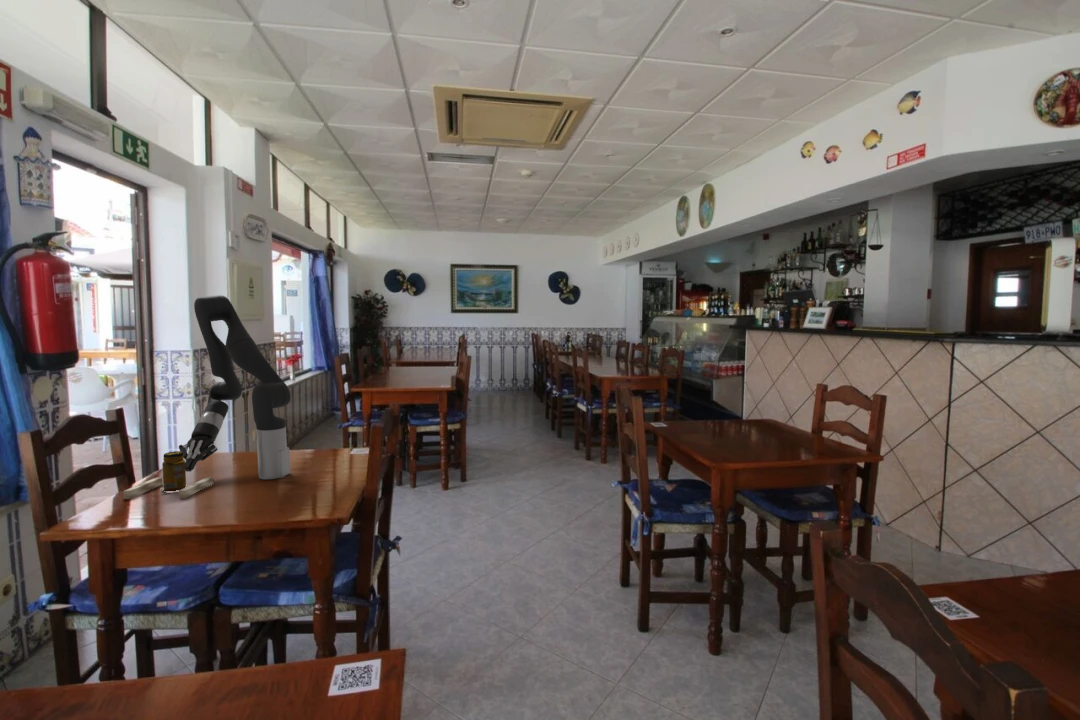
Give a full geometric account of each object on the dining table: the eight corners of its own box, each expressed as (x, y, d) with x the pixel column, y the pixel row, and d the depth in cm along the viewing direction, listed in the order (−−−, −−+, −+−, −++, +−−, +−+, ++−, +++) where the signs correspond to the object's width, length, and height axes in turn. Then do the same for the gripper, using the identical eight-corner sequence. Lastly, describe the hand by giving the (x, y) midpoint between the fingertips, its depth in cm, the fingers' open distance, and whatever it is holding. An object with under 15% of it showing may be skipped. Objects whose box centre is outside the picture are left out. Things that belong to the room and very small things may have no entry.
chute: (156, 484, 173) (156, 477, 172) (213, 484, 173) (213, 477, 173) (123, 499, 159) (123, 491, 158) (185, 498, 159) (185, 490, 159)
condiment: (186, 484, 173) (184, 449, 172) (189, 490, 167) (187, 454, 166) (160, 488, 169) (157, 452, 168) (161, 495, 162) (159, 458, 161)
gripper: (184, 421, 182) (161, 465, 171) (221, 421, 182) (201, 464, 171) (195, 433, 188) (173, 475, 176) (231, 432, 188) (212, 475, 177)
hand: (187, 470), depth 174 cm, fingers closed
